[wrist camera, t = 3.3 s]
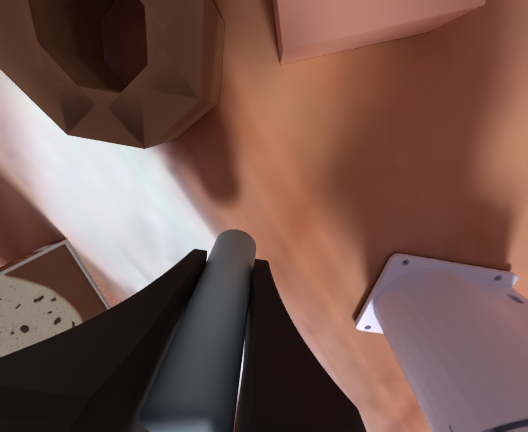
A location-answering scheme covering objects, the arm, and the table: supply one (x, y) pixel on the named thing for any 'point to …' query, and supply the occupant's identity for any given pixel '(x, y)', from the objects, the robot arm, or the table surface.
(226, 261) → the dowel
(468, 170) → the table surface
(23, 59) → the walnut bead
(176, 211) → the table surface
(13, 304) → the food container
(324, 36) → the brick bead
